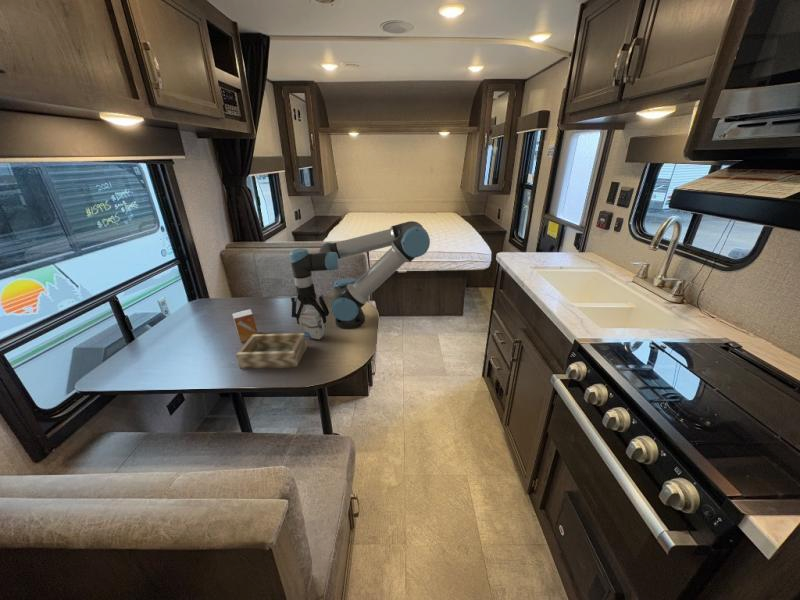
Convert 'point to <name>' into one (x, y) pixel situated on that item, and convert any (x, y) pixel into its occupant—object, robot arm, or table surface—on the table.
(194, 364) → the table surface
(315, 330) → the ink box
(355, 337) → the table surface
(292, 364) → the crate
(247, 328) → the small box
